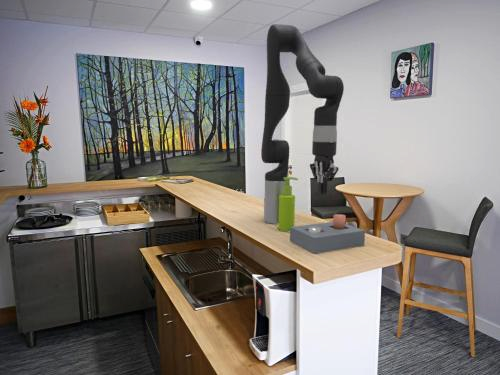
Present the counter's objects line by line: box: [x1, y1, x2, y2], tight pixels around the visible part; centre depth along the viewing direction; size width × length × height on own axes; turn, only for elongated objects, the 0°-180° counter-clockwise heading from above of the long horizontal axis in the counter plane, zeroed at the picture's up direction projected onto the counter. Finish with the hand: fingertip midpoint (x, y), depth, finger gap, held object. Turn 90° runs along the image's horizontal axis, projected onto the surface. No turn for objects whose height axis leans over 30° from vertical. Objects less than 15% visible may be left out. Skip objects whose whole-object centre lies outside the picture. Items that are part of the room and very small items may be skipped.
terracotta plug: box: [332, 213, 347, 230], centre depth 126 cm, size 4×4×5 cm
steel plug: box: [308, 226, 321, 233], centre depth 122 cm, size 4×4×5 cm
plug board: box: [289, 221, 366, 255], centre depth 124 cm, size 14×20×5 cm
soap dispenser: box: [278, 176, 299, 233], centre depth 139 cm, size 6×7×20 cm
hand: (322, 194), depth 121 cm, fingers closed
